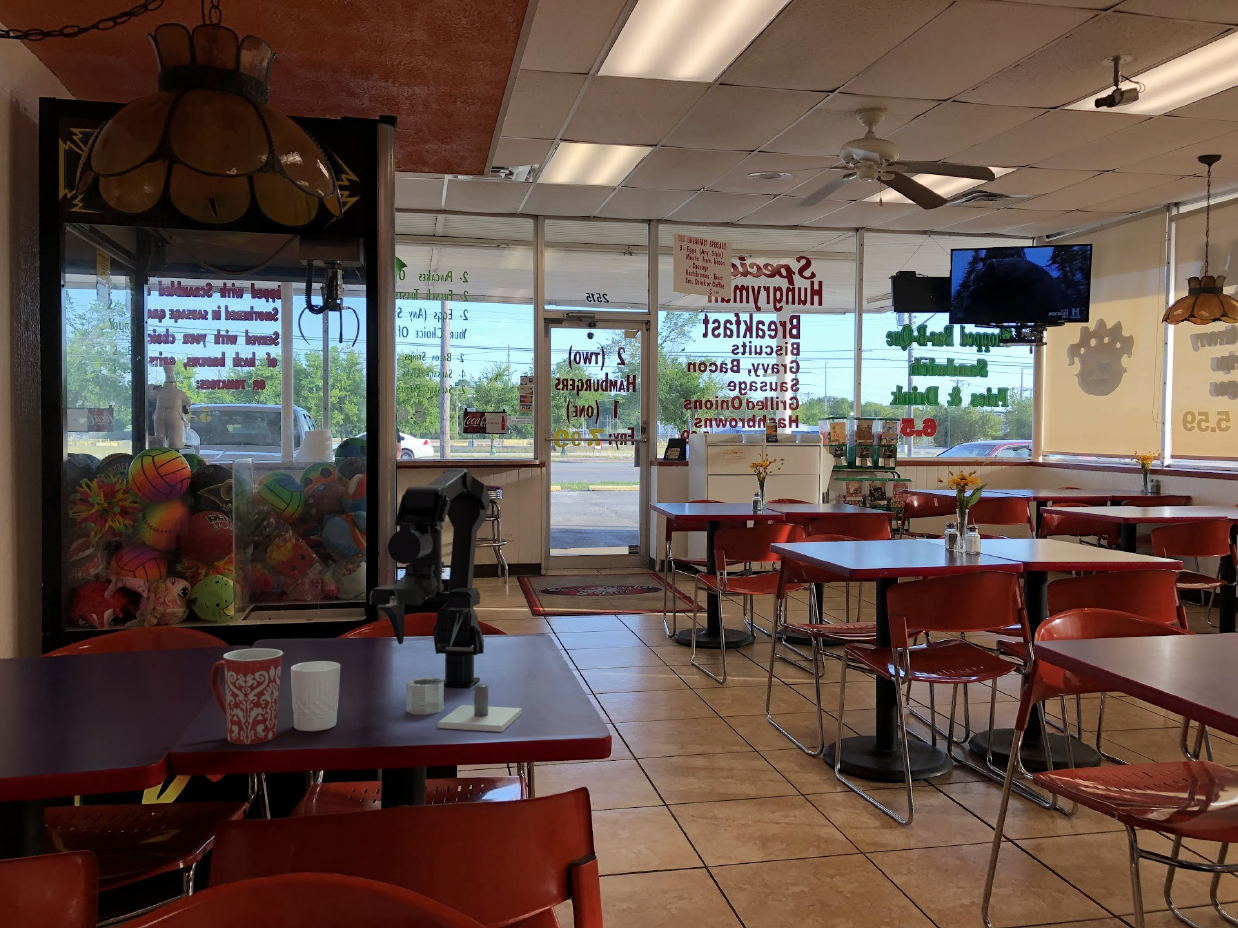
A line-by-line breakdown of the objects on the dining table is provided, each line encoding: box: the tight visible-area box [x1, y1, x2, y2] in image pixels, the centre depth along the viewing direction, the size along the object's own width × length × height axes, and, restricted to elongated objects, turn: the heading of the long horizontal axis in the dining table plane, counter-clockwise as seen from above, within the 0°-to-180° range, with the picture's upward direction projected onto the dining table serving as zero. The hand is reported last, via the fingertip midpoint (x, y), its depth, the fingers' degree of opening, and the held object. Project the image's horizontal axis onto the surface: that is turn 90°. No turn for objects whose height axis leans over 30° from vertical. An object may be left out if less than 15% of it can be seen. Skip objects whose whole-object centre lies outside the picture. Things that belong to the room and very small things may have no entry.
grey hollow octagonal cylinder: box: [405, 677, 445, 716], centre depth 168 cm, size 6×6×5 cm
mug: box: [209, 647, 284, 745], centre depth 151 cm, size 13×9×14 cm
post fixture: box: [437, 683, 522, 733], centre depth 161 cm, size 11×11×6 cm
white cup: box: [290, 660, 341, 732], centre depth 157 cm, size 8×8×10 cm
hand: (425, 644), depth 168 cm, fingers open, 9 cm apart
